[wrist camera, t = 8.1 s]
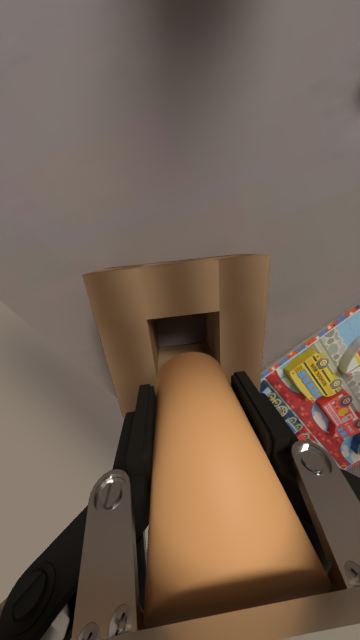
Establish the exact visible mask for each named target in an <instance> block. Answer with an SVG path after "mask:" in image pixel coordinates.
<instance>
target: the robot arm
mask: <svg viewBox="0 0 360 640" xmlns="http://www.w3.org/2000/svg"><path fill="white" fill-rule="evenodd" d="M231 387H232V389H233V391H234V393H235V395H236V397H237V398H238V400H239V402H240V404H241V406H242V408H243V410H244V412H245V414H246V416H247V418H248V420H249V422H250V424H251V426H252V428H253V430H254V432H255V434H256V436H257V438H258V440H259V442H260V444H261V446H262V448H263V450H264V452H265V453H266V455H267V457H268V459H269V461H270V463H271V465H272V467H273V469H274V471H275V473H276V475H277V477H278V479H279V481H280V483H281V485H282V487H283V489H284V491H285V493H286V495H287V497H288V499H289V501H290V503H291V505H292V506H293V508H294V510H295V512H296V514H297V516H298V518H299V520H300V522H301V524H302V526H303V528H304V530H305V532H306V534H307V536H308V538H309V540H310V542H311V544H312V546H313V548H314V550H315V552H316V554H317V556H318V558H319V559H320V561H321V563H322V565H323V567H324V569H325V571H326V573H327V575H328V577H329V579H330V582H331V587H330V589H329V591H328V593H325V594H319V595H314V596H309V597H304V598H299V599H294V600H289V601H284V602H278V603H273V604H268V605H263V606H258V607H253V608H248V609H243V610H238V611H233V612H228V613H223V614H218V615H213V616H208V617H203V618H198V619H193V620H189V621H184V622H179V623H174V624H169V625H164V626H159V627H155V628H150V629H146V627H145V625H144V623H143V621H144V602H145V584H146V566H147V550H146V539H145V529H146V528H147V526H148V525H149V512H150V494H151V476H152V459H153V440H154V422H155V404H156V395H155V390H154V386H150V384H144V385H140V386H139V391H138V397H137V402H136V408H135V411H133V412H127V413H126V415H125V419H124V423H123V428H122V432H121V436H120V440H119V445H118V449H117V453H116V457H115V461H114V465H113V470H111V471H109V472H107V473H105V474H104V475H103V476H102V477H101V478H100V479H99V480H98V481H97V483H96V484H95V485H94V487H93V489H92V491H91V494H90V498H89V503H88V506H87V507H86V508H85V509H84V510H83V511H82V512H81V513H80V514H79V515H78V516H77V517H76V518H75V519H74V520H73V521H72V522H71V523H70V525H69V526H68V527H67V528H66V529H65V530H64V531H63V532H62V533H61V534H60V535H59V536H58V537H57V538H56V539H55V540H54V541H53V542H52V543H51V544H50V546H49V547H48V548H47V549H46V550H45V551H44V552H43V553H42V554H41V555H40V556H39V557H38V558H37V559H36V560H35V561H34V562H33V563H32V564H31V565H30V567H29V568H28V569H27V570H26V571H25V572H24V573H23V575H22V576H21V577H20V578H19V580H18V581H17V582H16V584H15V586H14V587H13V589H12V590H11V592H10V594H9V596H8V597H7V598H6V599H5V600H4V601H3V602H2V603H1V604H0V640H70V639H71V640H360V478H359V477H357V476H355V475H353V474H351V473H349V472H347V471H345V470H343V469H341V468H339V467H338V465H337V464H336V462H335V460H334V459H333V458H332V456H331V455H330V454H329V453H328V452H327V451H326V450H325V449H324V448H322V447H321V446H319V445H318V444H315V443H313V442H311V441H306V440H300V441H299V439H298V438H297V436H296V435H295V434H294V432H293V431H292V430H291V428H290V427H289V425H288V424H287V423H286V421H285V420H284V418H283V417H282V416H281V414H280V413H279V412H278V410H277V409H276V407H275V406H274V405H273V403H272V402H271V401H270V399H269V398H268V396H267V395H266V394H265V393H259V391H258V390H257V388H256V387H255V385H254V384H253V382H252V381H251V379H250V378H249V377H248V375H247V374H246V372H245V371H239V372H234V375H231Z"/></svg>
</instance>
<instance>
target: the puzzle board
mask: <svg viewBox="0 0 360 640" xmlns="http://www.w3.org/2000/svg"><path fill="white" fill-rule="evenodd" d="M260 393H265V394H266V395H267V396H268V398H269V399H270V401H271V402H272V403H273V405H274V406H275V407H276V409H277V410H278V412H279V413H280V414H281V416H282V417H283V418H284V420H285V421H286V423H287V424H288V425H289V427H290V428H291V430H292V431H293V432H294V434H295V435H296V436H297V438H298V439H299V441H300V440H306V441H311V442H313V443H315V444H318V445H319V446H321V447H322V448H324V449H325V450H326V451H327V452H328V453H329V454H330V455H331V456H332V458H333V459H334V460H335V462H336V464H337V465H338V467H339V468H341V469H343V470H345V471H347V470H349V469H351V468H352V467H354V466H356V465H357V464H359V463H360V302H358V303H357V304H355V305H354V306H353V307H351V308H350V309H348V310H347V311H346V312H344V313H343V314H341V315H340V316H338V317H337V318H336V319H334V320H333V321H331V322H330V323H329V324H327V325H326V326H324V327H323V328H321V329H320V330H319V331H317V332H316V333H314V334H313V335H312V336H310V337H309V338H307V339H306V340H304V341H303V342H302V343H300V344H299V345H297V346H296V347H294V348H293V349H292V350H290V351H289V352H287V353H286V354H285V355H283V356H282V357H280V358H279V359H277V360H276V361H275V362H273V363H272V364H270V365H269V366H268V367H266V368H265V369H263V370H262V372H261V384H260Z"/></svg>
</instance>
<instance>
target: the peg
mask: <svg viewBox="0 0 360 640" xmlns="http://www.w3.org/2000/svg"><path fill="white" fill-rule="evenodd" d="M330 587H331V582H330V579H329V577H328V575H327V573H326V571H325V569H324V567H323V565H322V563H321V561H320V559H319V558H318V556H317V554H316V552H315V550H314V548H313V546H312V544H311V542H310V540H309V538H308V536H307V534H306V532H305V530H304V528H303V526H302V524H301V522H300V520H299V518H298V516H297V514H296V512H295V510H294V508H293V506H292V505H291V503H290V501H289V499H288V497H287V495H286V493H285V491H284V489H283V487H282V485H281V483H280V481H279V479H278V477H277V475H276V473H275V471H274V469H273V467H272V465H271V463H270V461H269V459H268V457H267V455H266V453H265V452H264V450H263V448H262V446H261V444H260V442H259V440H258V438H257V436H256V434H255V432H254V430H253V428H252V426H251V424H250V422H249V420H248V418H247V416H246V414H245V412H244V410H243V408H242V406H241V404H240V402H239V400H238V398H237V397H236V395H235V393H234V391H233V389H232V387H231V385H230V383H229V381H228V379H227V377H226V375H225V373H224V371H223V369H222V367H221V365H220V364H219V363H218V361H217V360H215V359H214V358H213V357H211V356H209V355H207V354H204V353H200V352H186V353H182V354H179V355H176V356H174V357H172V358H171V359H169V360H168V361H167V362H166V363H165V364H164V365H163V366H162V367H161V369H160V371H159V373H158V376H157V385H156V404H155V422H154V440H153V459H152V476H151V494H150V512H149V530H148V549H147V566H146V584H145V602H144V621H143V623H144V625H145V627H146V629H150V628H155V627H159V626H164V625H169V624H174V623H179V622H184V621H189V620H193V619H198V618H203V617H208V616H213V615H218V614H223V613H228V612H233V611H238V610H243V609H248V608H253V607H258V606H263V605H268V604H273V603H278V602H284V601H289V600H294V599H299V598H304V597H309V596H314V595H319V594H325V593H328V591H329V589H330Z"/></svg>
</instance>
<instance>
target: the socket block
mask: <svg viewBox="0 0 360 640" xmlns="http://www.w3.org/2000/svg"><path fill="white" fill-rule="evenodd" d="M270 260H271V255H265V254H236V255H226V256H217V257H207V258H198V259H188V260H179V261H169V262H160V263H151V264H141V265H132V266H122V267H113V268H106V269H102V270H98V271H94V272H90V273H87V274H83V275H82V276H83V279H84V283H85V286H86V290H87V293H88V297H89V300H90V304H91V307H92V311H93V314H94V318H95V321H96V325H97V328H98V332H99V335H100V339H101V342H102V346H103V349H104V353H105V356H106V360H107V363H108V367H109V370H110V374H111V377H112V381H113V384H114V388H115V391H116V395H117V398H118V402H119V405H120V409H121V412H122V416H123V417H125V415H126V413H127V412H133V411H135V408H136V402H137V397H138V391H139V386H140V385H144V384H150V386H154V390H155V395H156V385H157V376H158V373H159V371H160V369H161V367H162V366H163V365H164V364H165V363H166V362H167V361H168V360H169V359H171V358H172V357H174V356H176V355H179V354H182V353H186V352H200V353H204V354H207V355H209V356H211V357H213V358H214V359H215V360H217V361H218V363H219V364H220V365H221V367H222V369H223V371H224V373H225V375H226V377H227V379H228V381H229V383H230V385H231V375H234V372H239V371H245V372H246V374H247V375H248V377H249V378H250V379H251V381H252V382H253V384H254V385H255V387H256V388H257V390H258V391H259V393H260V384H261V372H262V359H263V347H264V334H265V322H266V310H267V297H268V285H269V272H270ZM200 313H205V315H206V336H207V342H201V343H193V344H185V345H177V346H169V347H161V348H159V344H158V337H157V331H156V325H155V319H157V318H165V317H174V316H182V315H191V314H200Z"/></svg>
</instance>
